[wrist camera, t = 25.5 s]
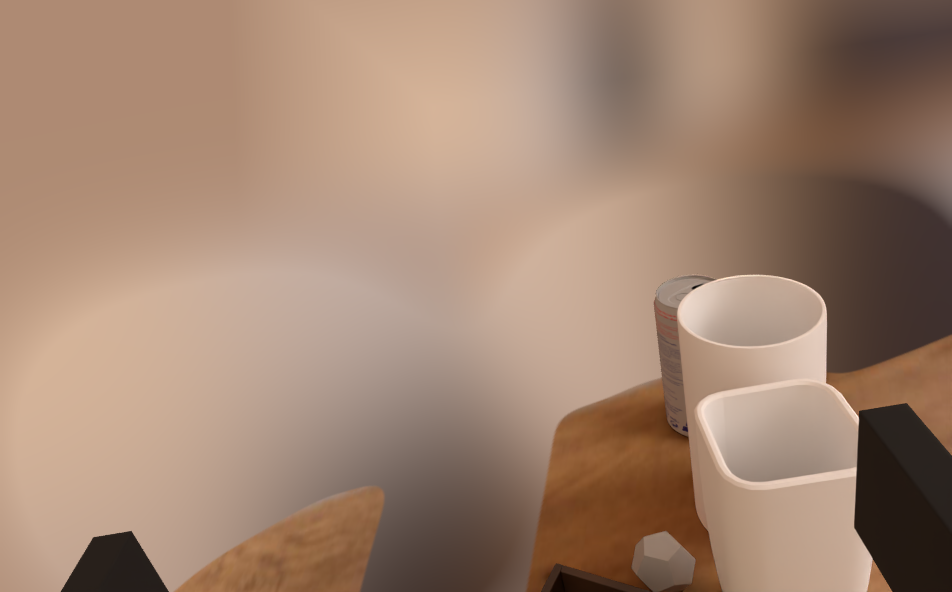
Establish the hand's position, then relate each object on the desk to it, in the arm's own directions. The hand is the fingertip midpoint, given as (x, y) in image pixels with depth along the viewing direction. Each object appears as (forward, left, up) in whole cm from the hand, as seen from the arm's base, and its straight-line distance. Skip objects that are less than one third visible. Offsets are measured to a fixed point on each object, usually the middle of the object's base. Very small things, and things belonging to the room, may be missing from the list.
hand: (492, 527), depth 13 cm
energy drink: (+8, -38, -30) cm, 49 cm away
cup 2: (-1, -21, -30) cm, 37 cm away
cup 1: (+2, -30, -30) cm, 43 cm away
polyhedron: (+6, -22, -30) cm, 38 cm away
